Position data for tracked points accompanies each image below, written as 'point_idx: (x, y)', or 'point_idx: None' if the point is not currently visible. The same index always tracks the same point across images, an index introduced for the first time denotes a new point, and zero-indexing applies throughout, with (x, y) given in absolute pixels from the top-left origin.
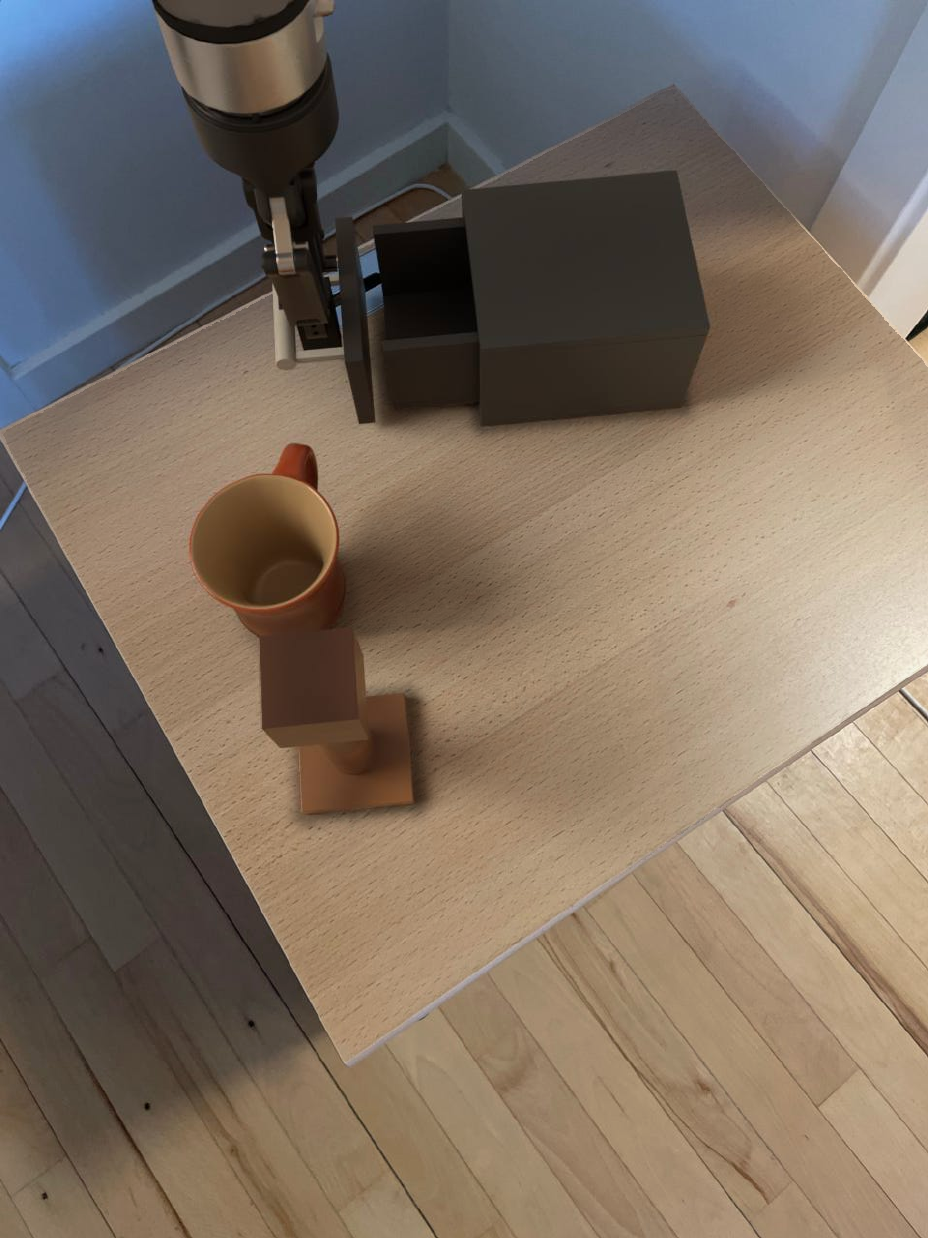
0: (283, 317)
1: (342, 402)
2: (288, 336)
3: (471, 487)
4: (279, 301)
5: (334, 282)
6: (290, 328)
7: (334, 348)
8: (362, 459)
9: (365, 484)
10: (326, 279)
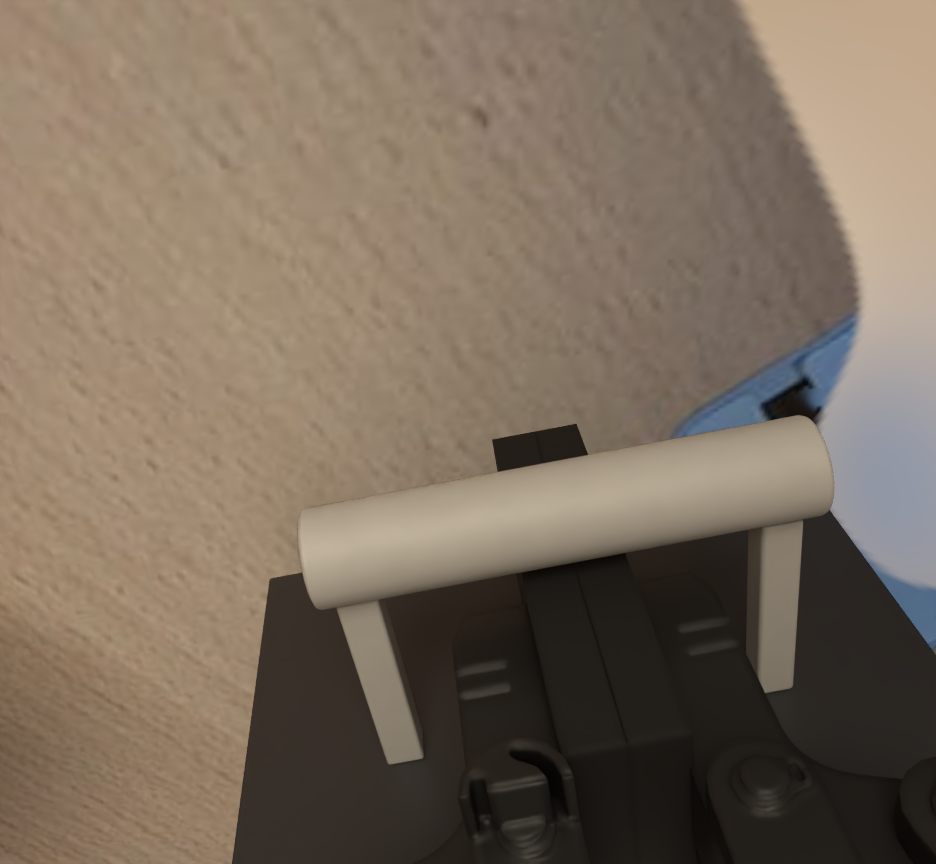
0: (555, 550)
1: (374, 484)
2: (446, 582)
3: (152, 801)
4: (504, 797)
5: (752, 664)
6: (497, 576)
7: (410, 724)
8: (168, 568)
9: (79, 588)
10: (679, 859)
